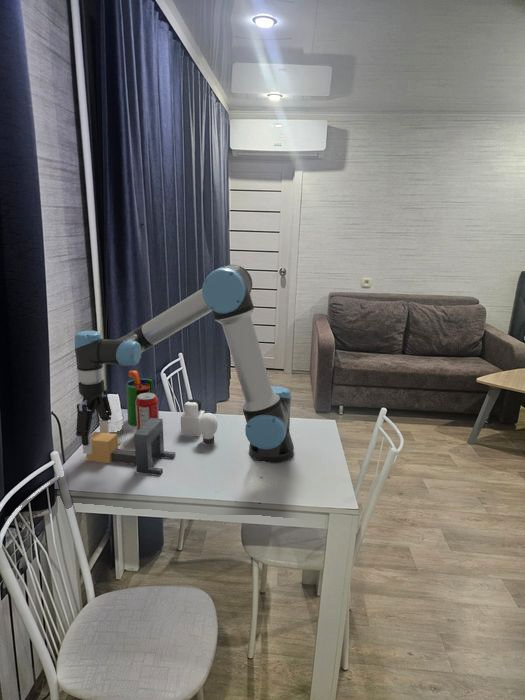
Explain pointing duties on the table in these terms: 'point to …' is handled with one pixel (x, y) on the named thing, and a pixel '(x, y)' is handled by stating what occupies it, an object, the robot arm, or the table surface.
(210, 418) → the light bulb
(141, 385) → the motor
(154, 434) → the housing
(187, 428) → the medicine bottle
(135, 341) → the robot arm
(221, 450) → the table surface
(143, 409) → the soda can
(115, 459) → the plug
